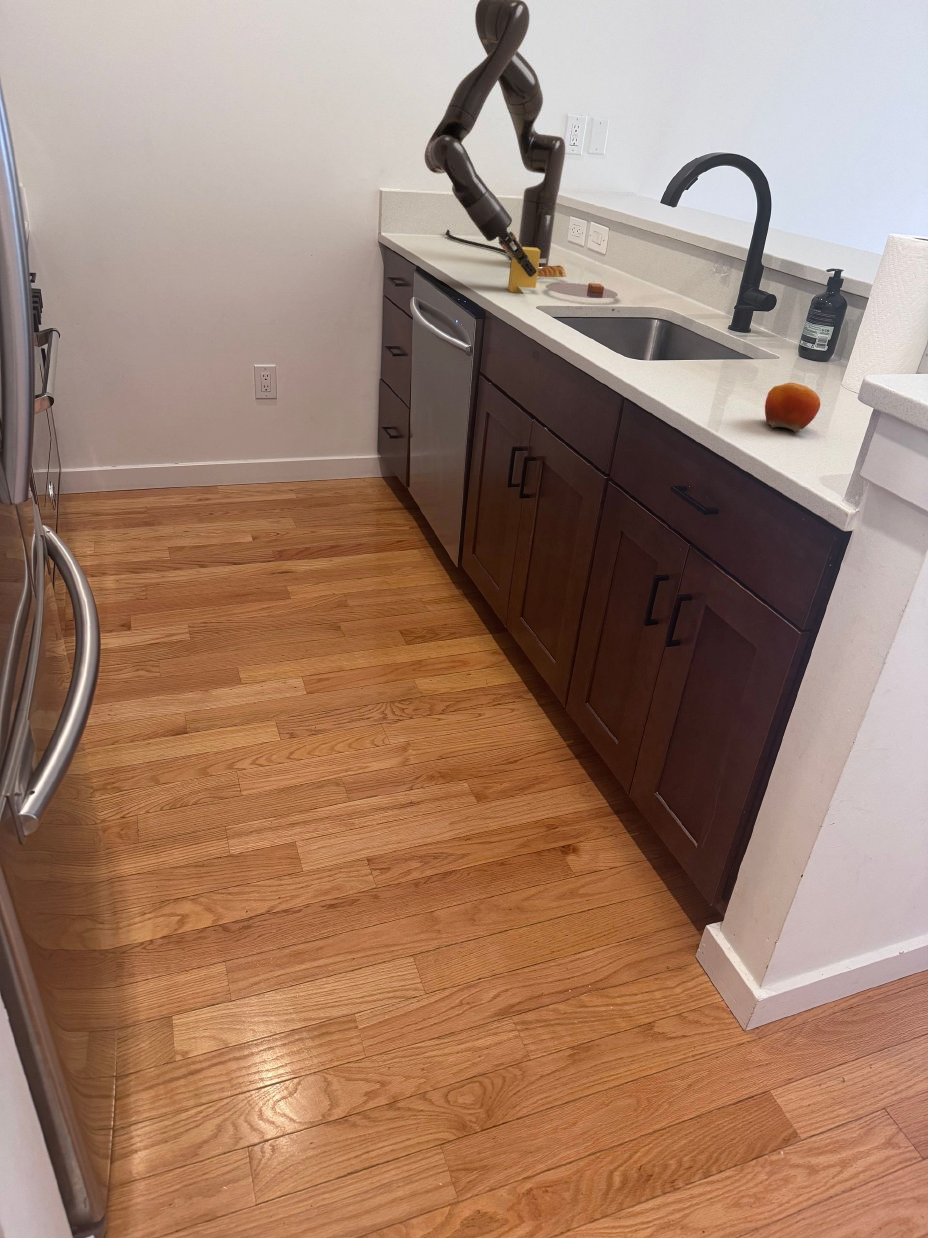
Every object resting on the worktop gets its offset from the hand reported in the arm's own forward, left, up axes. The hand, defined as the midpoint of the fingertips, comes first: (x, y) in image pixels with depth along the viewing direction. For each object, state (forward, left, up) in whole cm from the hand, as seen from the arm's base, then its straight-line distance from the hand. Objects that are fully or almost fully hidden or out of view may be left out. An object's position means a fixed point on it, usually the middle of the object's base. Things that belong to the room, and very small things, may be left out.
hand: (531, 272), depth 215 cm
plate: (+1, +13, -5) cm, 14 cm away
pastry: (-18, +9, -5) cm, 21 cm away
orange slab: (+1, +17, -3) cm, 17 cm away
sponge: (0, -2, -5) cm, 5 cm away
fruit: (+98, +22, -5) cm, 101 cm away
